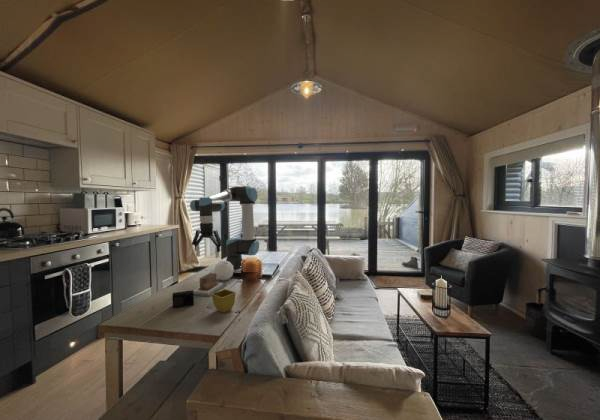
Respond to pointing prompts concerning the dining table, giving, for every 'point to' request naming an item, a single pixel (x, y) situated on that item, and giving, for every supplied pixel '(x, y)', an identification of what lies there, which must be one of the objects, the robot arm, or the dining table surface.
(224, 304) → the flower pot
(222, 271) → the geodesic sphere
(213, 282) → the walnut block
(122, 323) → the dining table surface
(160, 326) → the dining table surface
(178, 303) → the digital camera
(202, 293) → the grey flat frame
